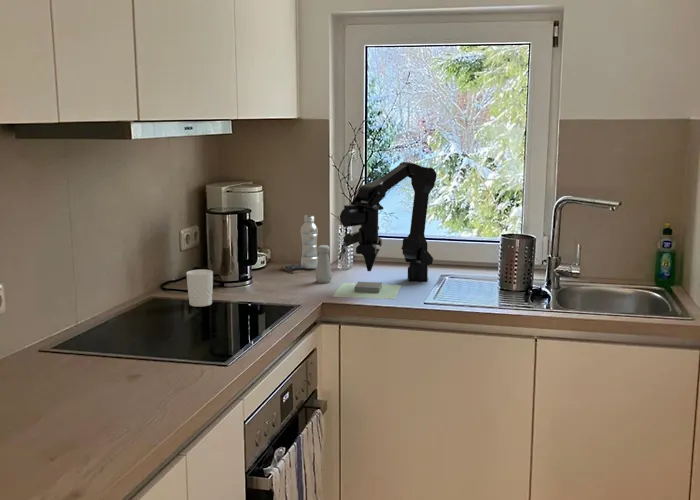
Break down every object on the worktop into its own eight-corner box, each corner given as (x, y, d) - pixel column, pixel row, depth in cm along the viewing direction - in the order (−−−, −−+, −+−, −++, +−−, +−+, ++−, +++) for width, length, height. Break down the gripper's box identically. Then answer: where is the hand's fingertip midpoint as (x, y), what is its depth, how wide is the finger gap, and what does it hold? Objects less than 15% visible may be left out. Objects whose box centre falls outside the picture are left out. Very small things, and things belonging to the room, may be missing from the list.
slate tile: (382, 282, 250) (379, 287, 242) (382, 287, 250) (378, 293, 243) (358, 281, 251) (354, 286, 244) (358, 286, 252) (354, 292, 244)
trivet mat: (401, 286, 254) (401, 285, 254) (395, 300, 235) (395, 299, 235) (343, 284, 257) (343, 283, 257) (332, 297, 238) (332, 296, 238)
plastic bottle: (318, 270, 280) (318, 217, 277) (300, 270, 280) (299, 217, 277) (319, 267, 287) (318, 215, 283) (301, 267, 287) (301, 215, 283)
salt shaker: (331, 284, 257) (331, 247, 254) (314, 284, 257) (314, 247, 254) (332, 281, 262) (332, 244, 260) (315, 280, 262) (315, 244, 260)
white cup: (185, 302, 232) (184, 270, 230) (210, 300, 235) (209, 268, 233) (190, 308, 224) (189, 275, 223) (216, 305, 228) (215, 273, 226)
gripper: (349, 219, 255) (349, 264, 258) (340, 227, 237) (340, 276, 240) (382, 220, 253) (382, 266, 256) (375, 228, 235) (374, 277, 238)
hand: (369, 271), depth 247 cm, fingers closed
